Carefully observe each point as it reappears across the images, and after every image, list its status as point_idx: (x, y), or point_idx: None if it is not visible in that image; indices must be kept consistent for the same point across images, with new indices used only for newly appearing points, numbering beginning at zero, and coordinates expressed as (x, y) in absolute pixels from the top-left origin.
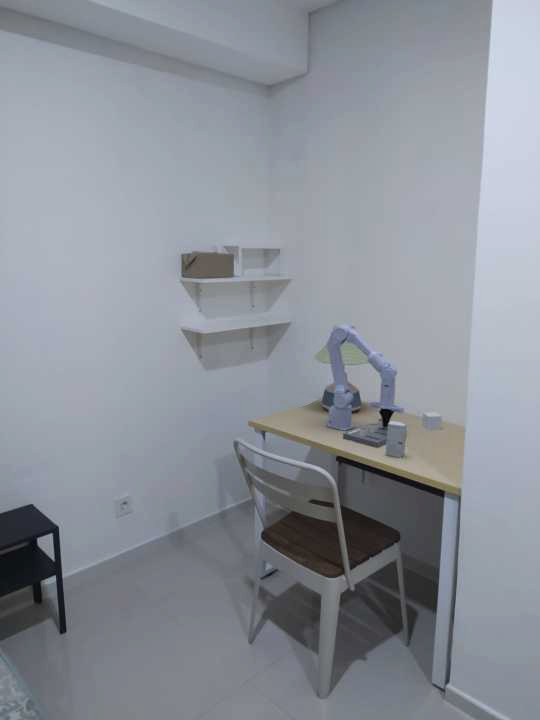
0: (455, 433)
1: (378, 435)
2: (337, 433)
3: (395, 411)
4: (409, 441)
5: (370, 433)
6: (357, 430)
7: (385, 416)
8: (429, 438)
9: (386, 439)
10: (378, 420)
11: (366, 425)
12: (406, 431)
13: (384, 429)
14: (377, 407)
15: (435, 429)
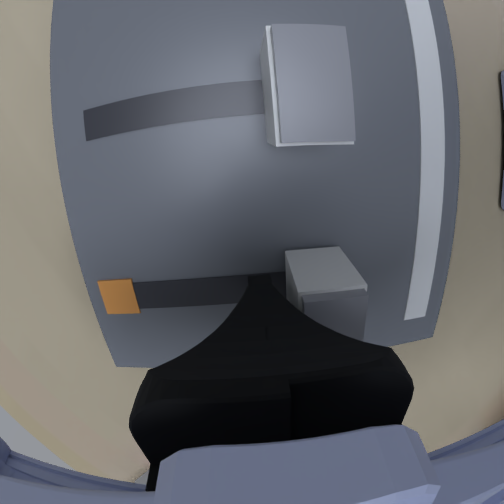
0: (75, 466)
1: (160, 33)
2: (488, 5)
3: (71, 474)
4: (26, 247)
5: (267, 18)
6: (416, 19)
7: (228, 342)
8: (40, 375)
9: (53, 33)
10: (359, 285)
11: (450, 233)
12: (118, 362)
13: (256, 261)
14: (481, 437)
15: (142, 475)
